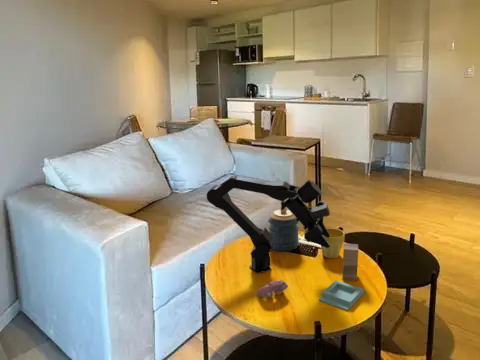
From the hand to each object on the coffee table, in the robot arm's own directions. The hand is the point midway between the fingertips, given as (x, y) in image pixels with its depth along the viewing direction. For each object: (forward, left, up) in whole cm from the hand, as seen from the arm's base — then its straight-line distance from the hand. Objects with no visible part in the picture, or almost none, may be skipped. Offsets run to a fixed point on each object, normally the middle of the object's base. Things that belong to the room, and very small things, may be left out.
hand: (328, 241), depth 151 cm
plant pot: (+11, +12, -13) cm, 21 cm away
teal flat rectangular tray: (-6, -15, -13) cm, 20 cm away
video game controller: (-26, -2, -13) cm, 29 cm away
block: (+5, -6, -13) cm, 15 cm away
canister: (-1, +29, -13) cm, 32 cm away
